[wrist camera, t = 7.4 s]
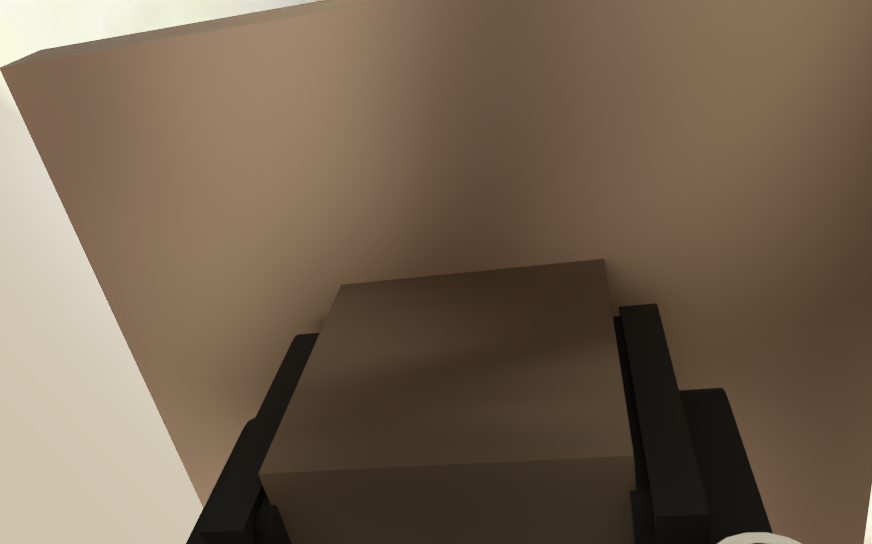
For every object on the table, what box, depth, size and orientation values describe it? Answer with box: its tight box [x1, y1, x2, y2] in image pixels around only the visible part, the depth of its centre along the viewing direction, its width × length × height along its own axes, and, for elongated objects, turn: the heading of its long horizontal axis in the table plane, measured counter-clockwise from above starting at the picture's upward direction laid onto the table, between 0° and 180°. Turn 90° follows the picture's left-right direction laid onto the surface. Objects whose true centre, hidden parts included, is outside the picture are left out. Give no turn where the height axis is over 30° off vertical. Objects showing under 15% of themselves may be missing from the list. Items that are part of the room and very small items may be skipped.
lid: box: [0, 0, 872, 544], centre depth 11 cm, size 12×12×5 cm
